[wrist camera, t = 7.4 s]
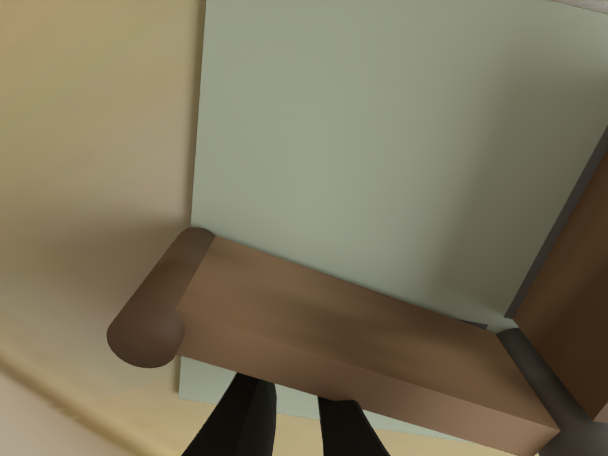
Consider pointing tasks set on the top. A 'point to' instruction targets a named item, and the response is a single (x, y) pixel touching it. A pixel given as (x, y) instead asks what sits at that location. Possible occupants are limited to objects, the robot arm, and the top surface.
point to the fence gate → (328, 342)
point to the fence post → (570, 328)
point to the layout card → (398, 149)
